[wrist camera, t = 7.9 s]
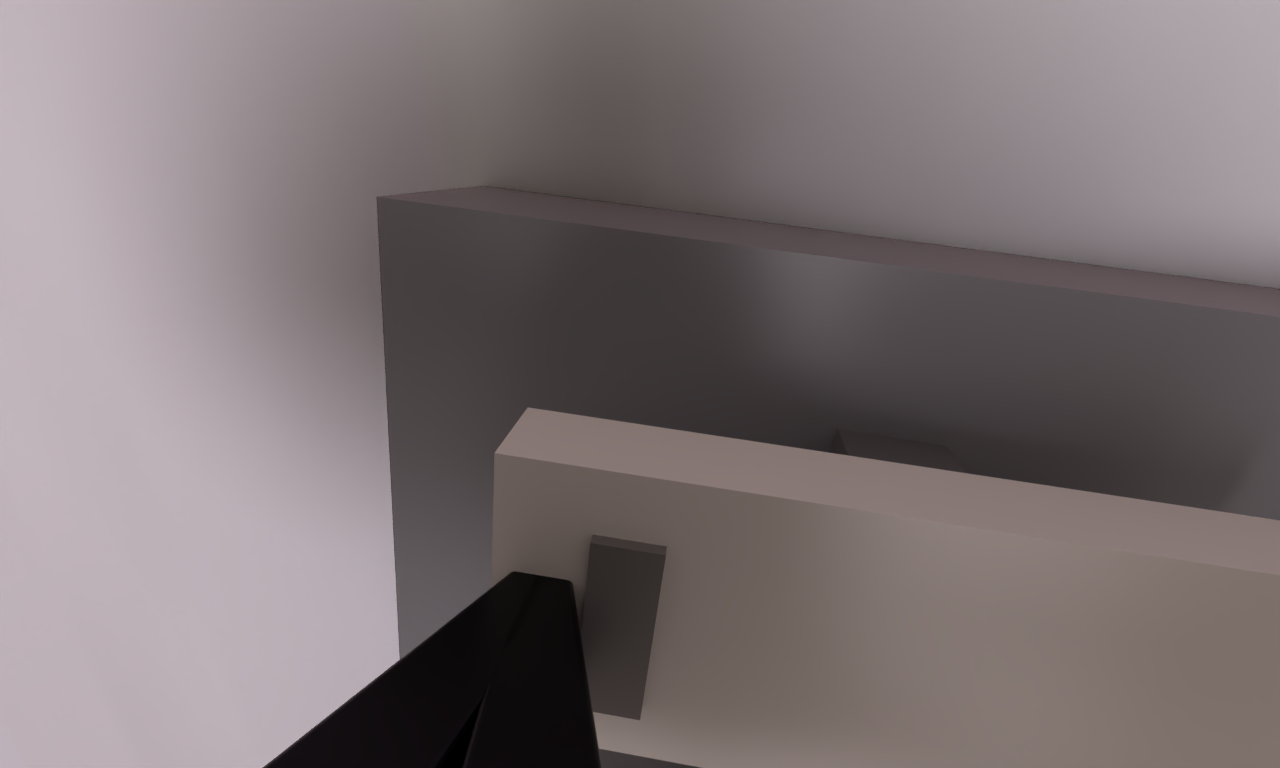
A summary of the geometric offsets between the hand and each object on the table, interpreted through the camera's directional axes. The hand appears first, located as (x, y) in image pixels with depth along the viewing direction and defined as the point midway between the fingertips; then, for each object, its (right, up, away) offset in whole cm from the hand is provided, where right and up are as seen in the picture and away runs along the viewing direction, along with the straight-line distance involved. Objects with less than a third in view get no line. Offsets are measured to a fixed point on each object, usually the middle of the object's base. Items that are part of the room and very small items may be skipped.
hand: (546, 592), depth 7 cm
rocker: (+4, -1, 0) cm, 4 cm away
